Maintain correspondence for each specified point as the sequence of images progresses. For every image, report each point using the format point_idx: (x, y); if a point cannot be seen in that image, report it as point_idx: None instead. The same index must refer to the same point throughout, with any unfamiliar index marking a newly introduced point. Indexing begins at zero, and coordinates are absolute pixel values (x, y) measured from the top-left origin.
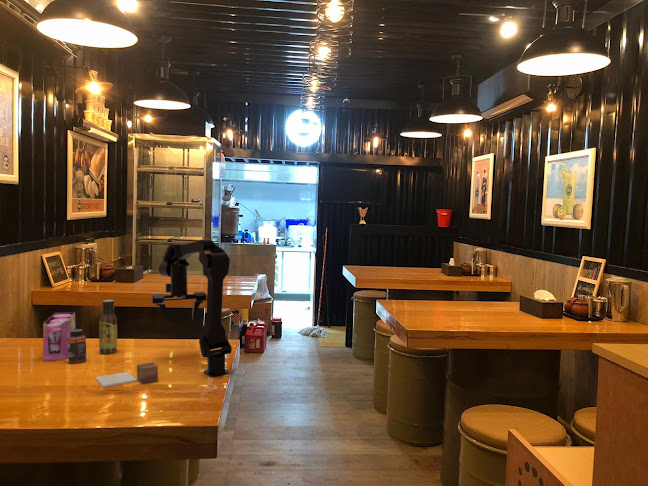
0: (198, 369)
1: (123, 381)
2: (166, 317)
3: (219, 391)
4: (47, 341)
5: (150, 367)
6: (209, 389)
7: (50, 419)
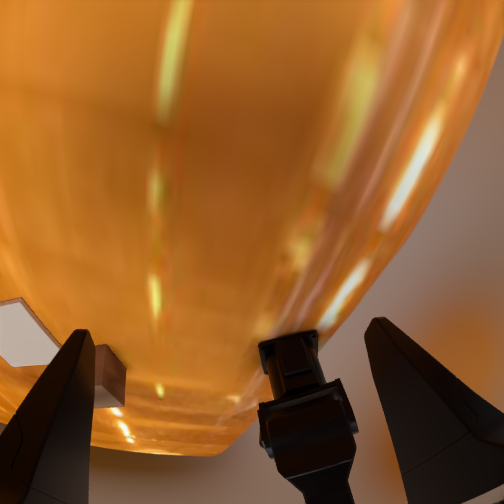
0: (251, 317)
1: (43, 362)
2: (86, 409)
3: (252, 415)
4: None
5: (106, 406)
6: (238, 410)
7: None
